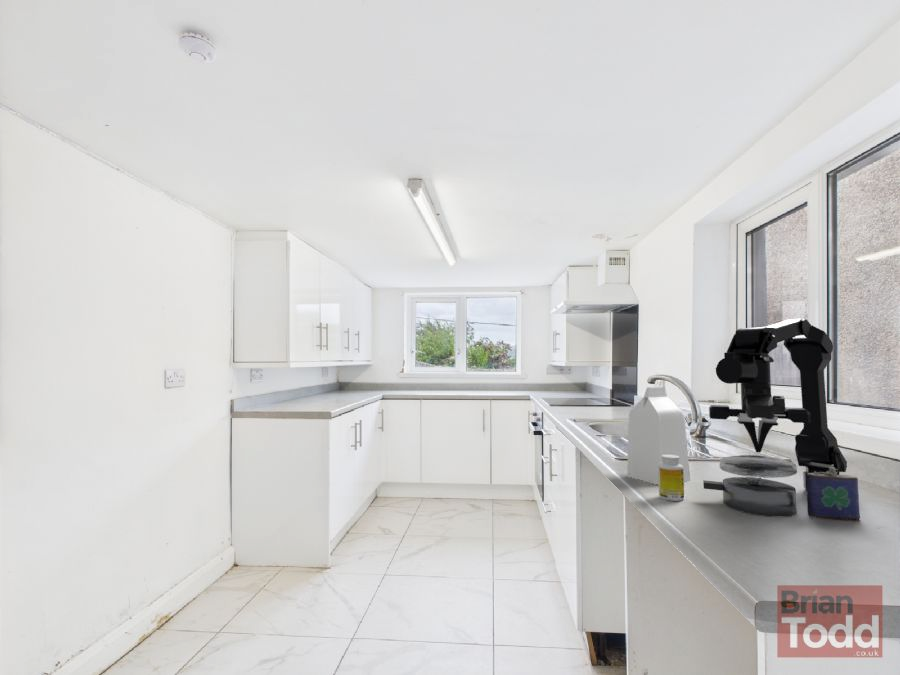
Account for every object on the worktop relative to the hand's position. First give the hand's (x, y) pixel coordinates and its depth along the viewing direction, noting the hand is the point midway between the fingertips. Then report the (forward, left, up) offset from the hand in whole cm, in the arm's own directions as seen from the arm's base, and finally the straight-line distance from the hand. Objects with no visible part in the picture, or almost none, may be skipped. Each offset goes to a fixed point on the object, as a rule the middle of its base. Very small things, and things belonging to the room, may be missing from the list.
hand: (758, 452), depth 105 cm
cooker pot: (+2, -4, -13) cm, 13 cm away
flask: (-13, -1, -13) cm, 19 cm away
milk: (+22, -21, -13) cm, 33 cm away
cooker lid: (0, -4, -5) cm, 6 cm away
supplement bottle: (+18, -1, -13) cm, 22 cm away
